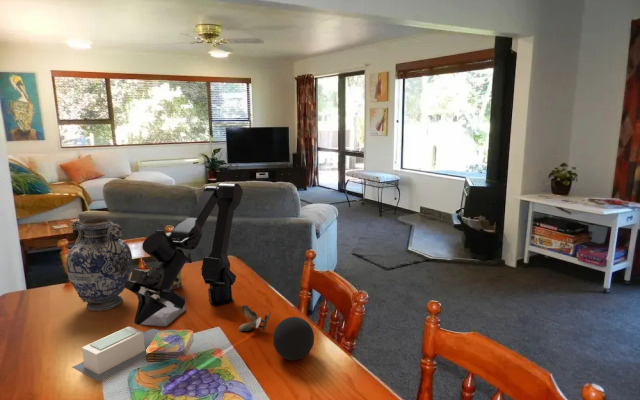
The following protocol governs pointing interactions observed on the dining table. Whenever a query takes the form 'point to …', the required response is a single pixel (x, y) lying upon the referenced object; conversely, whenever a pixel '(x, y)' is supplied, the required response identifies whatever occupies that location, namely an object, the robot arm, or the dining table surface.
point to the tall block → (113, 349)
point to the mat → (147, 340)
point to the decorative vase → (99, 263)
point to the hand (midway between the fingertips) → (136, 324)
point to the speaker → (293, 338)
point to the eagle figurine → (254, 322)
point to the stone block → (164, 315)
